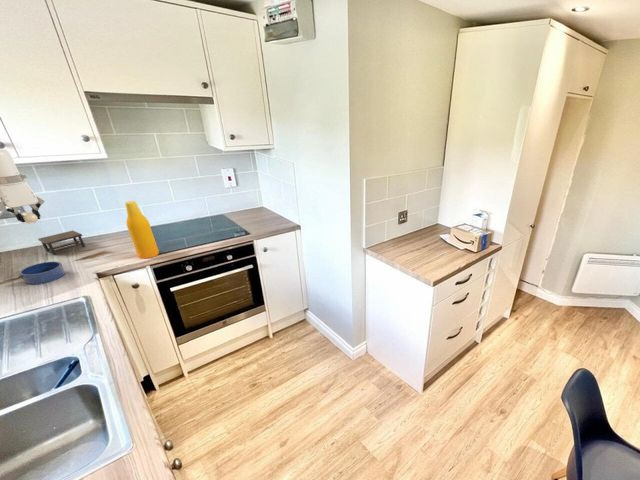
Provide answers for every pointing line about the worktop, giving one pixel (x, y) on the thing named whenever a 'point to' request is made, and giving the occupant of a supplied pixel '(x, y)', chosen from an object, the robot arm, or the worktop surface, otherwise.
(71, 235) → the stand
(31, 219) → the potato
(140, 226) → the beer bottle
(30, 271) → the bowl
